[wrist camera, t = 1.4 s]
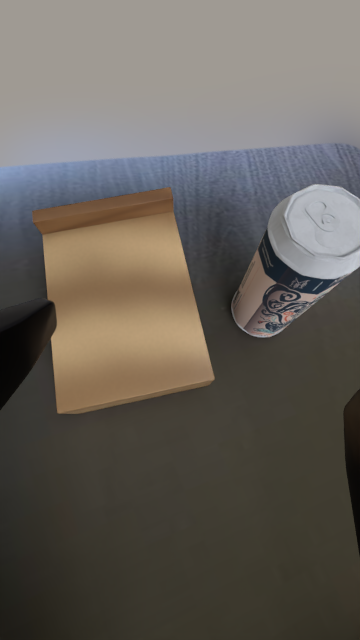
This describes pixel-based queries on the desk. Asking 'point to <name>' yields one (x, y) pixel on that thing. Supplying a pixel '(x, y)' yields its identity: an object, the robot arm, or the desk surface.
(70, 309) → the small wooden stand
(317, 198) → the drink can
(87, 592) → the desk surface
